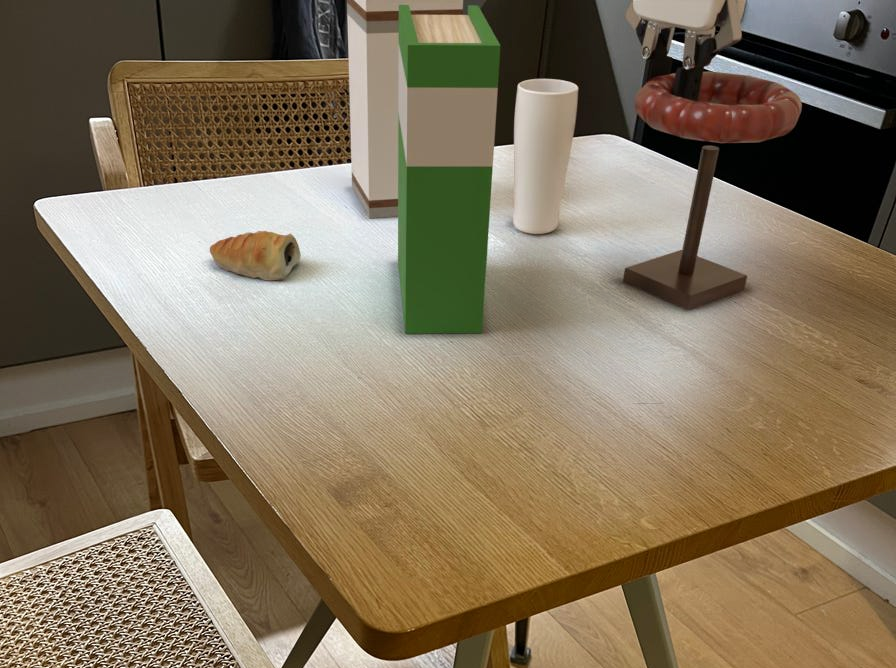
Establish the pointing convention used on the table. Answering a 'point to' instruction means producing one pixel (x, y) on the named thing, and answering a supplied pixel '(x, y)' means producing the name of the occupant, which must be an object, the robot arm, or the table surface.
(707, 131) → the ring
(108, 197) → the table surface
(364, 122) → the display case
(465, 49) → the hardback book
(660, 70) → the robot arm
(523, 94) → the drinking glass
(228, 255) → the pastry
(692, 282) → the peg stand
